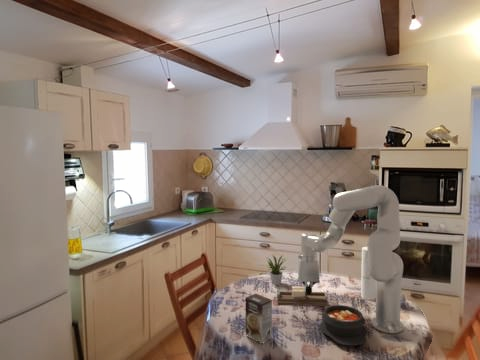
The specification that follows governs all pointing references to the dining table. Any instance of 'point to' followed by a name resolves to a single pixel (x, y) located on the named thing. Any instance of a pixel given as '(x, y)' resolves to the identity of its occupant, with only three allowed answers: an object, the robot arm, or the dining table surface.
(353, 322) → the casserole
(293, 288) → the block
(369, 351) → the dining table surface
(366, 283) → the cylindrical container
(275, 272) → the house plant
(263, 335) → the coffee box
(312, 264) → the robot arm
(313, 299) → the chute
